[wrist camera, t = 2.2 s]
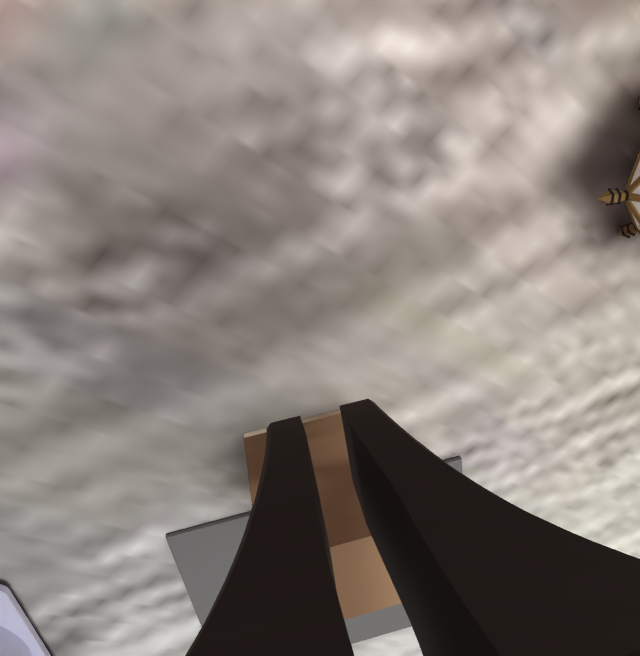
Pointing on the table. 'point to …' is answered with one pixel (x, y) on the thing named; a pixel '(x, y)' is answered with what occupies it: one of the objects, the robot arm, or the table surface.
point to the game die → (628, 199)
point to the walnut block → (337, 515)
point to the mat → (218, 555)
